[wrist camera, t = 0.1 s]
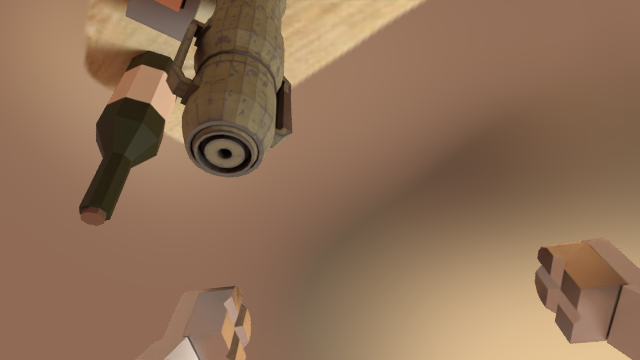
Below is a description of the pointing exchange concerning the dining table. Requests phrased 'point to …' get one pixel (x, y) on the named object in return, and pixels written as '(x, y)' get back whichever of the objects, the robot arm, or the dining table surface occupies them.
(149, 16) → the key panel
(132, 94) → the wine bottle
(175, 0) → the clay key
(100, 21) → the dining table surface
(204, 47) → the thermos
